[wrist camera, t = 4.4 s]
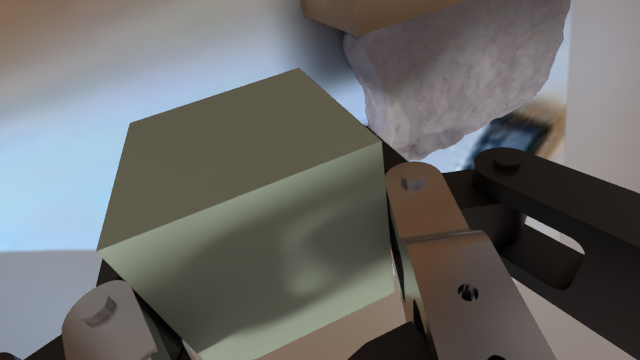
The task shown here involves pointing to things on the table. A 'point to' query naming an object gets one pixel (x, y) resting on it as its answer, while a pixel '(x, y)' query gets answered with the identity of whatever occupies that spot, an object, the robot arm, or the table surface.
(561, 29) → the stone block
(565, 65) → the table surface
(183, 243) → the sage cube
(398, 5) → the walnut cube
